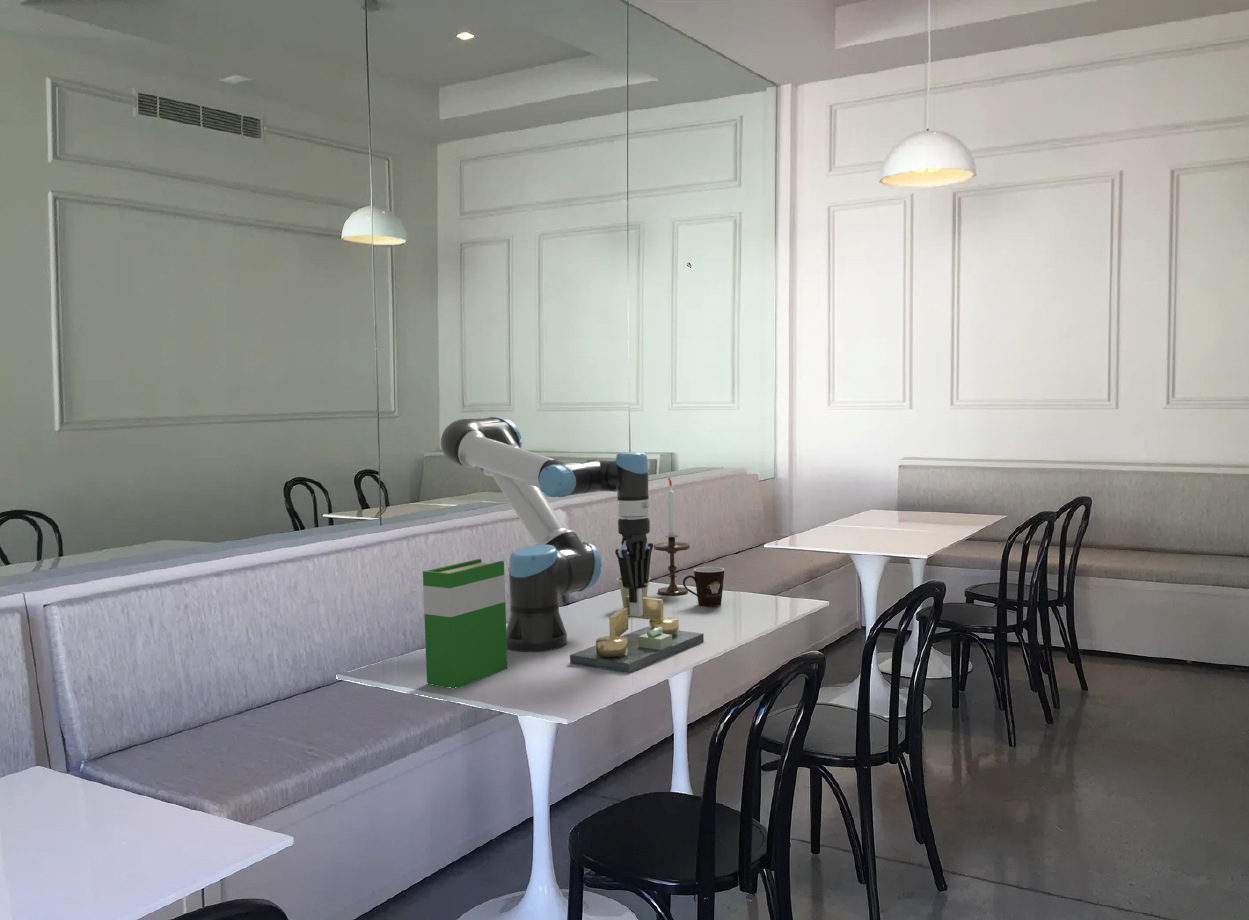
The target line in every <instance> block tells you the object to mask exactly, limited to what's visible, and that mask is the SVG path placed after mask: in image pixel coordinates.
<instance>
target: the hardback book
mask: <svg viewBox="0 0 1249 920" xmlns="http://www.w3.org/2000/svg"><path fill="white" fill-rule="evenodd" d="M505 576H506V575H505V561H503V560H499V561H495V562H491V563H487V562H482V558H481V559H480V558H476V559H473V560H468V561H464V562H463V561H462V562H460V563H454V564H450V565H446V566H441V567H436V568H431V569H428V570H423V571H422V584H423V585H422V586H423V611H424V612H423V613H424V615H423V616H424V637H425V638H424V640H425V642H424V643H425V644H424V645H425V665H426V667H425V668H426V684H427V683H428V684H433V685H432V686H434V685H438V686H437V687H440V686H443V687H442V688H445V687H451V688H455V687H457V688H460V687H463V686H466V685H468V684H470V683H472V682H473V681H474V682H476V681H479V680H482V679H484V678H487V677H489V676H492V675H495V674H498V673H501V672H504V671H506V670H508V648H507V637H506V629H507V610H506V607H507V606H506V584H505V583H506V581H505ZM428 684H427V685H428ZM451 688H450V689H451ZM455 689H456V688H455Z"/></svg>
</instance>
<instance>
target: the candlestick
mask: <svg viewBox="0 0 1249 920" xmlns="http://www.w3.org/2000/svg"><path fill="white" fill-rule="evenodd" d="M667 481H668V483H669V485H668V486H669V489H668V491H667V524H668V529H667V530H668V535H665V538H667V542H660V543H655V544H653V550H655V551H659V552H660V551H661V552H666V553H667V554H669V565H668V566H667V571H669V575H668V578H670V579H669V580H670V581H669V582H670V583H669V584H668V586H666V587H665V586H664V587H660V588H658V589H657V594H658V595H661V596H668V597H669V596H671V597H672V596H673V597H675V596H676V597H677V596H683V595H687V594H688V593H689V591H688V590H687V589H686V588H685V587H684V586H683V587H681V586H677V584H676V578H677V575H676V571H677V570H678V567H677V565H675V554H677V552H682V551H687V550H690V549H691V544H690V543H688V542H679V541H678V542H676V538H677V537H679V536H678V535H676V534H675V529H676V527H675V526H676V525H675V491H673V488H672V484H673V483H672V480H671V478H670V476H668V479H667Z"/></svg>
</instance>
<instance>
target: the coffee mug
mask: <svg viewBox="0 0 1249 920" xmlns="http://www.w3.org/2000/svg"><path fill="white" fill-rule="evenodd" d="M693 574H694V575H692V574H691V575H687V576H685V577H684V578H683V579H682V585H683V588H686V589H687V590H688V593H691V594H692V595H694V596H696V598H697V603H698V606H699V607H704V608H716V607H720V606H722V600H723V591H724V590H723V589H724V580H725V579H724V577H725V568H723V567H719V566H717V567H716V566H702V567H696V568H694V569H693ZM689 578H692V579H693V581H694V582H695V589H696V590H695V591H696V592H694V591H692V590H691V589H690V588H688V587H687V585H686V581H687V580H688V579H689Z"/></svg>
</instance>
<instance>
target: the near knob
mask: <svg viewBox="0 0 1249 920" xmlns="http://www.w3.org/2000/svg"><path fill="white" fill-rule="evenodd" d="M608 620H609V635H607V636H601V637H597V638H596V639H595V646H596V654H597V655H599V656H605V657H616V656H622V655H625V654H627V653H628V645H627V638H625V637H622V636H623V634H624V633H626V632H627V631H628V630H629V617H628V608H623V607H622V608H620V609H619V610H617V611H616V612H614V613H613V614H611V615H610V616H609V617H608Z"/></svg>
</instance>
